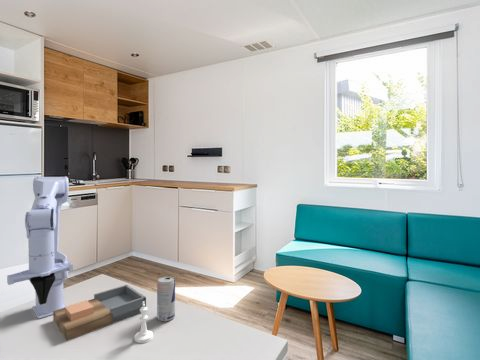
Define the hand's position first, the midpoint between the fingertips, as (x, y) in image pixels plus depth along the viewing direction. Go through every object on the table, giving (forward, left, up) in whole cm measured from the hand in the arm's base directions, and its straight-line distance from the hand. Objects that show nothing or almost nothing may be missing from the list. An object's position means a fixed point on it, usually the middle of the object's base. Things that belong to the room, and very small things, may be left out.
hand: (42, 302), depth 77 cm
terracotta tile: (0, +9, -6) cm, 11 cm away
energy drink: (+15, +29, -10) cm, 34 cm away
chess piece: (+20, +19, -10) cm, 29 cm away
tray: (0, +21, -9) cm, 23 cm away
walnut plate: (0, +10, -9) cm, 14 cm away
